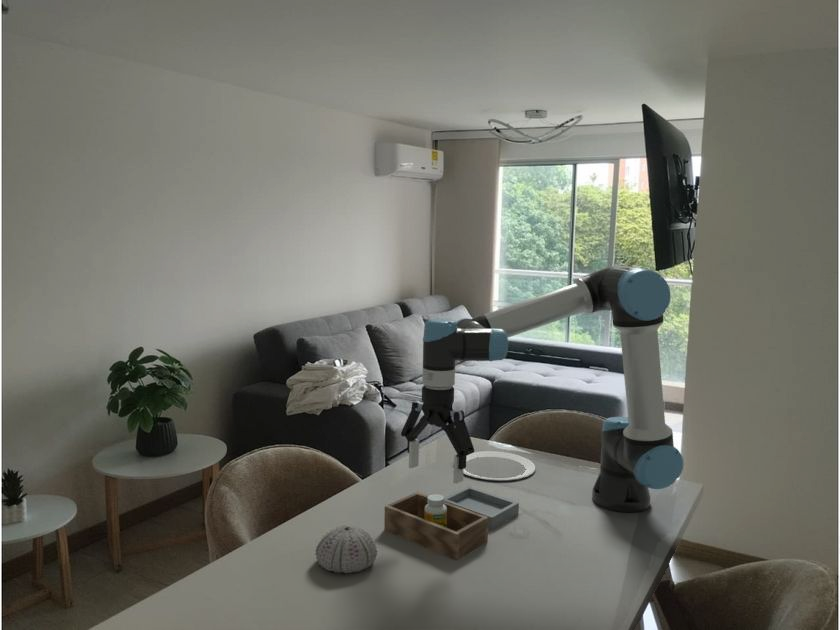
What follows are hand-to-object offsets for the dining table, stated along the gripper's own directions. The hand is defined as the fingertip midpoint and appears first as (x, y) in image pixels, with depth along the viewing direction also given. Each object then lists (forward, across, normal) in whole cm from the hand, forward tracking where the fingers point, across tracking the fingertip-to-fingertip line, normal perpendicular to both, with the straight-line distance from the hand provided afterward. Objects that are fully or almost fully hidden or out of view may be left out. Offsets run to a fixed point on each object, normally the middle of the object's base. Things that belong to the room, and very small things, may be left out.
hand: (435, 474), depth 159 cm
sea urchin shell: (+16, -6, -23) cm, 28 cm away
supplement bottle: (+16, 0, 0) cm, 16 cm away
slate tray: (+15, 0, +18) cm, 24 cm away
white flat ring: (+16, -16, +48) cm, 53 cm away
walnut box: (+15, 0, 0) cm, 15 cm away
